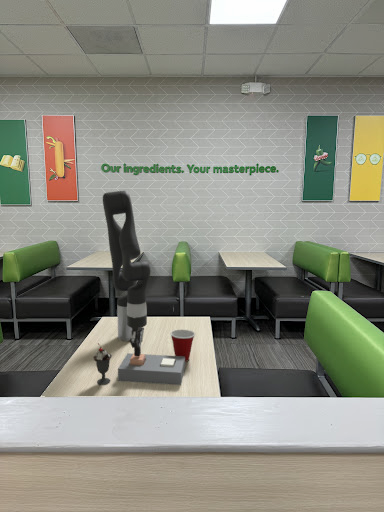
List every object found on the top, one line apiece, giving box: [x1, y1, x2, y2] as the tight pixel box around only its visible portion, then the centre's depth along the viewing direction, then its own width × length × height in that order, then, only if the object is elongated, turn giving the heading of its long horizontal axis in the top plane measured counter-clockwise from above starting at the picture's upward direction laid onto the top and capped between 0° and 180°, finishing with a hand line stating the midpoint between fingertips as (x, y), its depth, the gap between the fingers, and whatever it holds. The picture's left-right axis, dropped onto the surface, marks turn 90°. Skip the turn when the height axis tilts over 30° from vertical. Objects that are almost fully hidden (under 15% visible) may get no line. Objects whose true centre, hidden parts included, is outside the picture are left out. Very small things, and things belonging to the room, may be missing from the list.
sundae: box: [93, 343, 113, 386], centre depth 126 cm, size 7×7×15 cm
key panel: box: [117, 352, 186, 386], centre depth 133 cm, size 13×24×5 cm, turn 85°
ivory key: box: [161, 358, 175, 367], centre depth 132 cm, size 5×5×4 cm
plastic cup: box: [170, 329, 196, 362], centre depth 145 cm, size 11×11×12 cm
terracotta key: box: [130, 353, 145, 365], centre depth 133 cm, size 5×5×4 cm
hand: (137, 355), depth 132 cm, fingers closed
